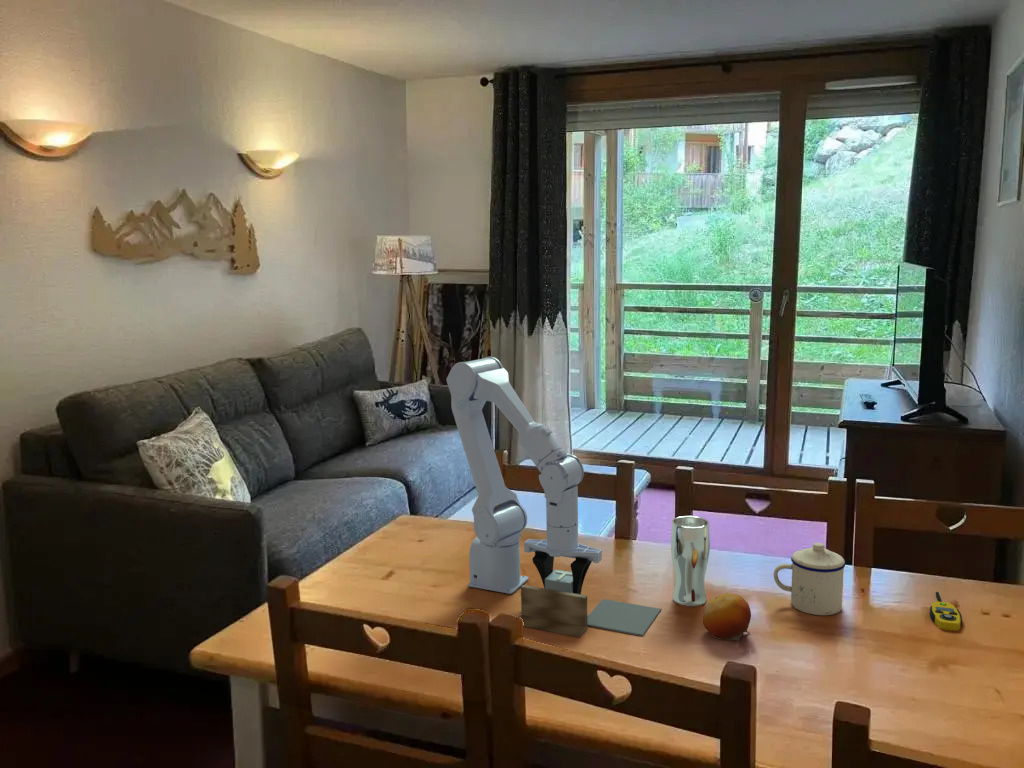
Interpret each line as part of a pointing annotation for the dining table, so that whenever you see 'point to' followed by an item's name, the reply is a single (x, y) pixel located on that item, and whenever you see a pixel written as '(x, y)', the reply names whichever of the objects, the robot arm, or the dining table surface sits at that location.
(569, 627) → the screen
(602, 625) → the mat
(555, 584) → the letter block
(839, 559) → the teacup with lid
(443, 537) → the dining table surface
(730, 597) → the fruit
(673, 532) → the beer glass
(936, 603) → the yellow walkie talkie
